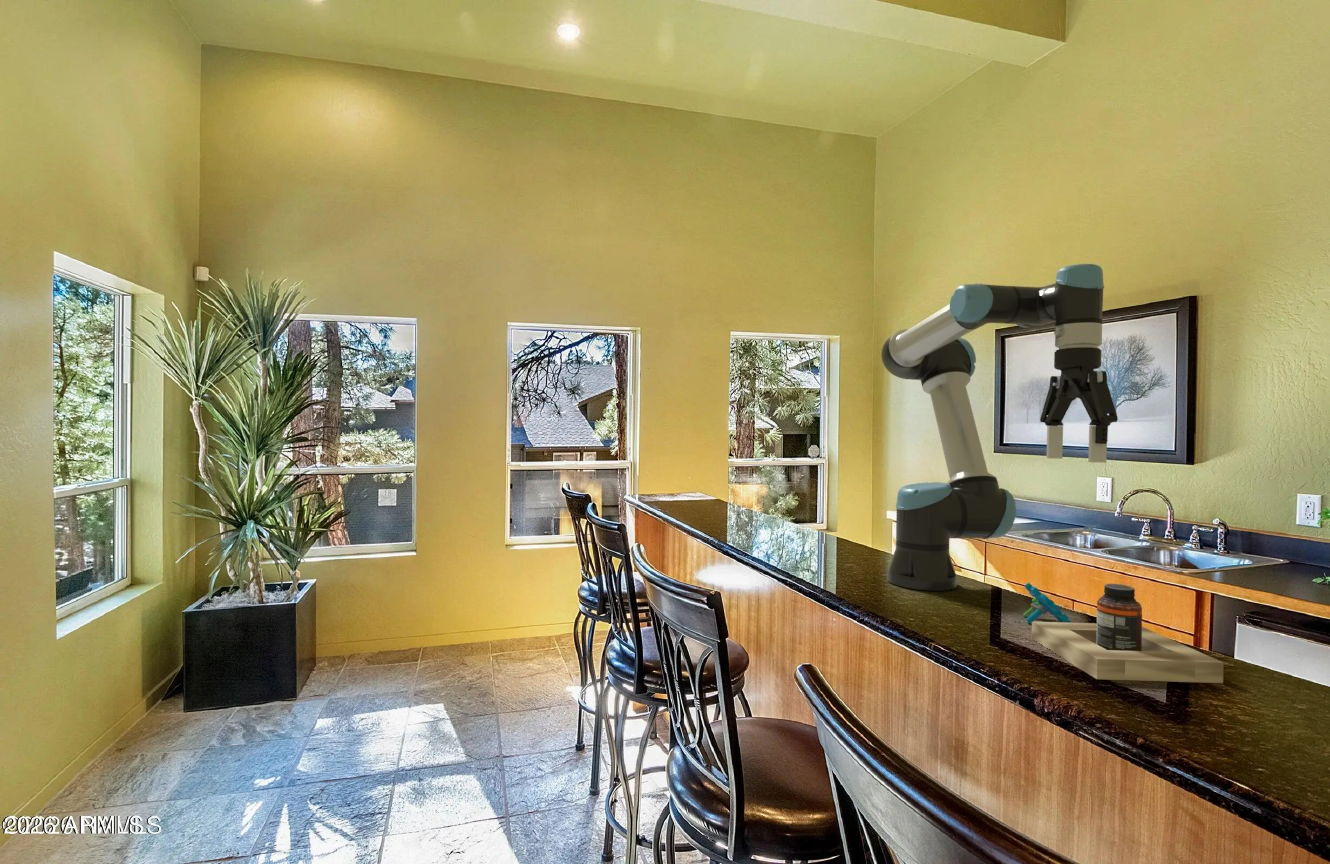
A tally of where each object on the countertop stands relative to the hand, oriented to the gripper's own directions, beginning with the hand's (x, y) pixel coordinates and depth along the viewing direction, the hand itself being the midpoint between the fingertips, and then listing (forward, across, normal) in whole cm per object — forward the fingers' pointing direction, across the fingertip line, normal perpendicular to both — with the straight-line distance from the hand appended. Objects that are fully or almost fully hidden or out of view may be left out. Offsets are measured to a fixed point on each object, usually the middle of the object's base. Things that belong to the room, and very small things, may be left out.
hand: (1074, 460), depth 123 cm
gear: (+31, +2, -5) cm, 32 cm away
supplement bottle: (+31, +20, -4) cm, 37 cm away
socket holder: (+31, +20, -4) cm, 37 cm away
